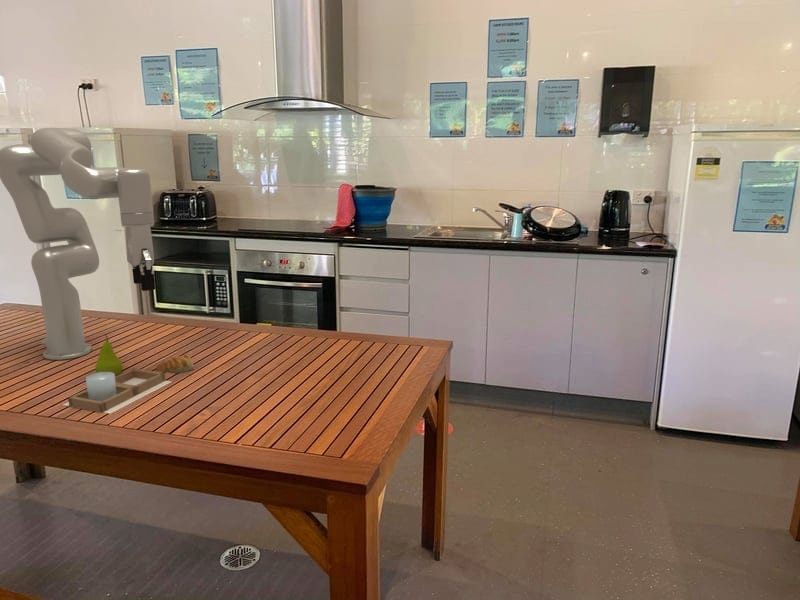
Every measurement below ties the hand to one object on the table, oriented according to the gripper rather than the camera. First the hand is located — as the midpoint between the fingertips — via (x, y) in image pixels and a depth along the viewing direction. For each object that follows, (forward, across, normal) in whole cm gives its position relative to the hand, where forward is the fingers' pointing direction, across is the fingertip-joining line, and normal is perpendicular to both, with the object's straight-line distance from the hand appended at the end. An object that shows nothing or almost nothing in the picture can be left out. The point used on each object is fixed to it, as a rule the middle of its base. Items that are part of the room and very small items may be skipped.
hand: (144, 286), depth 152 cm
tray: (+24, +11, -10) cm, 28 cm away
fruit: (+24, -4, -10) cm, 27 cm away
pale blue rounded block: (+23, +14, -14) cm, 30 cm away
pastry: (+25, -1, +6) cm, 25 cm away
